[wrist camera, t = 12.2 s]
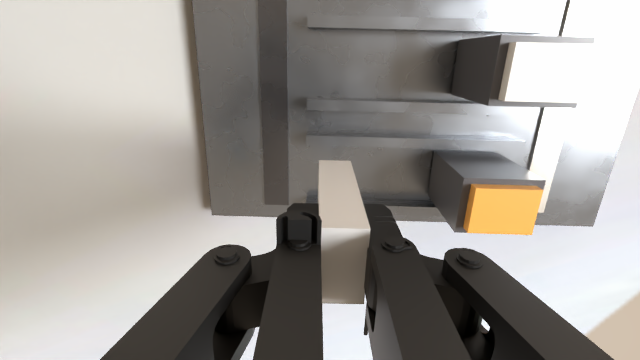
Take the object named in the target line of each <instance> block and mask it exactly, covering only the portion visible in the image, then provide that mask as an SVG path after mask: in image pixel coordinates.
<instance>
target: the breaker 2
mask: <svg viewBox="0 0 640 360" xmlns="http://www.w3.org/2000/svg"><path fill="white" fill-rule="evenodd" d="M545 182H546V180H545V179H543V178H541V177H539V176H538V175H536V174H534V173H532V172H531V171H529V170H527V169H525V168H524V167H522V166H520V165H518V164H517V163H515V162H513V161H511V160H510V159H508V158H506V157H504V156H502V155H501V154H499V153H479V152H442V151H434V156H433V163H432V170H431V177H430V184H429V191H428V196H429V198H430V199H431V200H432V202H433V203H434V205H435V206H436V207H437V209H438V210H439V211H440V213H441V214H442V216H443V217H444V218H445V220H446V221H447V223H448V224H449V225H450V227H451V228H452V229H453V231H454V232H464V233H487V234H521V235H532V232H533V228H534V225H535V221H536V217H537V213H538V209H539V206H540V202H541V198H542V194H543V191H544V186H545Z"/></svg>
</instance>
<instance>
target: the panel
mask: <svg viewBox="0 0 640 360" xmlns="http://www.w3.org/2000/svg"><path fill="white" fill-rule="evenodd" d="M192 6H193V17H194V27H195V38H196V49H197V60H198V70H199V81H200V92H201V103H202V114H203V124H204V135H205V146H206V157H207V167H208V178H209V189H210V200H211V211H212V215H224V216H258V217H278V216H279V215H281V214H282V213H284V212H287V208H288V207H290V206H291V205H292V204H293V203H316V204H318V176H319V160H336V161H351V164H352V167H353V171H354V174H355V177H356V181H357V184H358V188H359V191H360V194H361V198H362V201H363V204H383V205H384V206H386V207H387V208H389V209H390V210H391V212H392V215H393V218H394V219H395V221H427V222H447V221H446V220H445V218H444V217H443V216H442V214H441V213H440V211H439V210H438V209H437V207H436V206H435V205H434V203H433V202H432V200H431V199H430V198H429V196H428V191H429V184H430V177H431V170H432V163H433V156H434V151H442V152H479V153H499V154H501V155H502V156H504V157H506V158H508V159H510V160H511V161H513V162H515V163H517V164H518V165H520V166H522V167H524V168H525V169H527V170H529V171H531V172H532V173H534V174H536V175H538V176H539V177H541V178H543V179H545V180H546V182H545V186H544V191H543V194H542V198H541V202H540V206H539V209H538V213H537V217H536V221H535V225H563V226H593V225H594V222H595V219H596V216H597V213H598V210H599V207H600V204H601V201H602V198H603V195H604V192H605V189H606V186H607V182H608V179H609V176H610V173H611V170H612V167H613V164H614V161H615V158H616V155H617V152H618V149H619V146H620V143H621V140H622V137H623V134H624V131H625V128H626V125H627V122H628V119H629V116H630V113H631V110H632V107H633V104H634V101H635V98H636V95H637V91H638V88H639V85H640V0H192ZM495 35H533V36H575V37H596V39H595V42H594V44H595V45H594V48H593V52H592V56H591V59H590V63H589V67H588V70H587V74H586V77H585V81H584V85H583V88H582V92H581V96H580V99H579V103H578V104H577V108H544V107H506V106H486V105H483V104H480V103H477V102H474V101H470V100H467V99H464V98H461V97H458V96H454V95H451V90H452V83H453V77H454V70H455V63H456V57H457V50H458V43H459V40H461V39H470V38H478V37H487V36H495Z"/></svg>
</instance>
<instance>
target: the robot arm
mask: <svg viewBox="0 0 640 360" xmlns="http://www.w3.org/2000/svg"><path fill="white" fill-rule="evenodd" d="M276 229H277V246H276V249H274V250H273V251H271V252H269V253H266V254H262V255H257V256H252V257H251V254H250V251H249V250H248V249H247V248H245V247H243V246H239V245H222V246H219V247H216V248H214V249H211V250H210V251H209V252H207V253H206V254H205V255H204V256H203V257H202V258H201V259H200V260H199V261H198V262H197V263H196V264H195V265H194V266H193V267H192V268H191V269H190V270H189V271H188V272H187V273H186V274H185V275H184V276H183V277H182V278H181V279H180V280H179V281H178V282H177V283H176V284H175V285H174V286H173V287H172V288H171V289H170V290H169V291H168V292H167V293H166V294H165V295H164V296H163V297H162V298H161V299H160V300H159V301H158V302H157V303H156V304H155V305H154V306H153V307H152V308H151V309H150V310H149V311H148V312H147V313H146V314H145V315H144V316H143V317H142V318H141V319H140V320H139V321H138V322H137V323H136V324H135V325H134V326H133V327H132V328H131V329H130V330H129V331H128V332H127V333H126V334H125V335H124V336H123V337H122V338H121V339H120V340H119V341H118V342H117V343H116V344H115V345H114V346H113V347H112V348H111V349H110V350H109V351H108V352H107V353H106V354H105V355H104V356H103V357H102V358H101V359H100V360H240V358H241V356H242V354H243V353H244V351H245V349H246V347H247V345H248V343H249V342H250V340H251V338H252V336H253V333H254V330H255V327H259V326H260V328H259V332H258V337H257V342H256V347H255V352H254V357H253V360H323V325H322V303H334V304H364V296H365V295H366V300H367V305H366V316H365V327H364V335H367V334H368V332H369V338H370V344H371V350H372V355H373V360H614V359H613V358H611V357H610V356H609V355H608V354H606V353H605V352H604V351H603V350H602V349H600V348H599V347H598V346H597V345H595V344H594V343H593V342H592V341H590V340H589V339H588V338H587V337H586V336H584V335H583V334H582V333H581V332H579V331H578V330H577V329H576V328H574V327H573V326H572V325H571V324H570V323H568V322H567V321H566V320H565V319H563V318H562V317H561V316H560V315H558V314H557V313H556V312H555V311H554V310H552V309H551V308H550V307H549V306H547V305H546V304H545V303H544V302H542V301H541V300H540V299H539V298H538V297H536V296H535V295H534V294H533V293H531V292H530V291H529V290H528V289H526V288H525V287H524V286H523V285H522V284H520V283H519V282H518V281H517V280H515V279H514V278H513V277H512V276H510V275H509V274H508V273H507V272H506V271H504V270H503V269H502V268H501V267H499V266H498V265H497V264H496V263H494V262H493V261H492V260H491V259H490V258H488V257H487V256H485V255H483V254H482V253H479V252H477V251H474V250H472V249H467V248H454V249H451V250H448V251H447V252H446V253H445V256H444V260H440V259H435V258H430V257H427V256H423V255H420V254H419V252H418V250H417V248H416V246H415V245H414V244H413V243H412V242H411V241H409V240H408V239H406V238H403V237H402V235H401V232H400V230H399V228H398V226H397V224H396V221H395V219H394V218H393V215H392V212H391V210H390V209H389V208H387V207H386V206H384V205H383V204H363V201H362V198H361V194H360V191H359V188H358V184H357V181H356V177H355V174H354V171H353V167H352V164H351V161H336V160H319V176H318V204H316V203H293V204H292V205H291V206H290V207H288V208H287V212H284V213H282V214H281V215H279V216H278V218H277V219H276ZM482 318H483V319H484V320H485V321H486V322H487V323H488V325H489V326H490V330H489V331H487V330H486V329H485V328H484V327H483V326H482V325H481V322H482Z"/></svg>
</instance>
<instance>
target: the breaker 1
mask: <svg viewBox="0 0 640 360" xmlns="http://www.w3.org/2000/svg"><path fill="white" fill-rule="evenodd" d="M595 39H596V37H575V36H533V35H495V36H487V37H478V38H470V39H461V40H459V43H458V50H457V57H456V63H455V70H454V77H453V83H452V90H451V95H454V96H458V97H461V98H464V99H467V100H470V101H474V102H477V103H480V104H483V105H486V106H506V107H544V108H577V104H578V103H579V99H580V96H581V92H582V88H583V85H584V81H585V77H586V74H587V70H588V67H589V63H590V59H591V56H592V52H593V48H594V45H595V44H594V42H595Z"/></svg>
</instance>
